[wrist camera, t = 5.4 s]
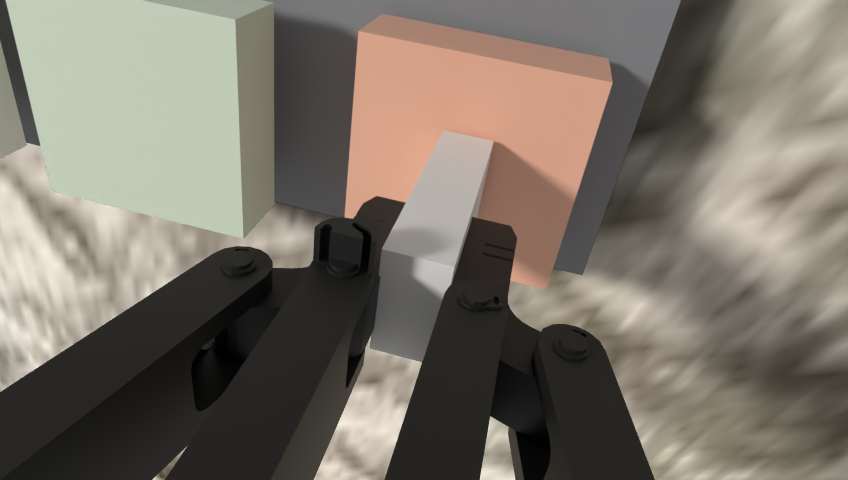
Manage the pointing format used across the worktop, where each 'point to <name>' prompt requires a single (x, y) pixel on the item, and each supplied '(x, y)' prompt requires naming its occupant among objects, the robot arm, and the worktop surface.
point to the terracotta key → (477, 124)
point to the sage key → (155, 104)
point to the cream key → (8, 114)
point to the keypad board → (449, 6)
